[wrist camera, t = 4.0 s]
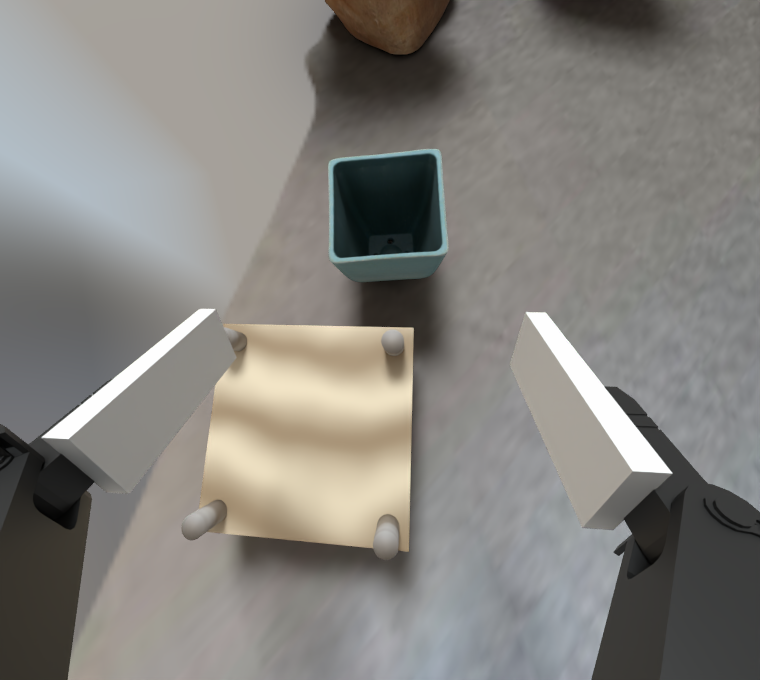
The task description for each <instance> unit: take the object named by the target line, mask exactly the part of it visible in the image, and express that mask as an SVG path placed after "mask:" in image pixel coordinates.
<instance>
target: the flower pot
mask: <svg viewBox="0 0 760 680" xmlns="http://www.w3.org/2000/svg"><path fill="white" fill-rule="evenodd" d="M328 179H329V259H330V261H331V262H332V263H333V264H334V265H335V266H336V267H337V268H338V269H339V270H340V271H341V272H342V273H343V274H344V275H345V276H346V277H348V278H349V279H351V280H353V281H356V282H372V281H387V280H403V279H420V278H426V277H428V276H430V275H432V274H433V273H434V272H435V271H436V269H437V268H438V266H439V265H440V263H441V262H442V260H443V258H444V257H445V255H446V254H447V252H448V247H449V245H448V234H447V223H446V210H445V198H444V184H443V170H442V156H441V152H440V151H439V150H438V149H422V150H414V151H406V152H397V153H389V154H380V155H367V156H354V157H344V158H337V159H334V160H331V161H329V164H328ZM389 240H392V241H393V243H392V244H389V243H388V241H389Z"/></svg>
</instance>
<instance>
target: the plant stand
mask: <svg viewBox="0 0 760 680" xmlns="http://www.w3.org/2000/svg"><path fill="white" fill-rule="evenodd" d="M223 327H224V329H225V331H226V334H227V336H228V338H229V341H230V343H231V346H232V348H233V350H234V353H235V355H236V357H237V358H236V359H235V360H234V362H233V363H232V364H231V366H230V367H229V368H228V369H227V371H226V372H225V373H224V374H223V376H222V377H221V378H220V379H219V381H218V382H217V383H216V385H215V392H214V399H213V407H212V415H211V422H210V430H209V437H208V445H207V452H206V460H205V467H204V475H203V482H202V490H201V497H200V505H199V510H197V511H195V512H193V513H192V514H190V515H188V516H187V517H186V518H185V519H184V521H183V523H182V533H183V535H184V537H185V538H186V539H188V540H195V539H197V538H199V537H200V536H202V535H203V534H204V533H206V532H214V533H224V534H234V535H244V536H254V537H264V538H275V539H285V540H295V541H305V542H315V543H325V544H335V545H346V546H356V547H366V548H373V549H374V552H375V554H376V555H377V556H378V557H379V558H380V559H383V560H390V559H392V558H394V557H395V556H396V554H397V552H398V551H406V552H409V522H410V476H411V429H412V383H413V337H414V328H403V327H354V326H304V325H255V324H223Z"/></svg>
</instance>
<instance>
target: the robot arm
mask: <svg viewBox="0 0 760 680" xmlns="http://www.w3.org/2000/svg"><path fill="white" fill-rule="evenodd" d="M236 358H237V357H236V355H235V353H234V350H233V348H232V346H231V343H230V341H229V338H228V336H227V334H226V331H225V329H224V327H223V324H222V322H221V320H220V317H219V315H218V313H217V310H216V309H199V310H198V311H197V312H196V313H194V314H193V315H192V316H191V317H189V318H188V319H187V320H186V321H184V322H183V323H182V324H181V325H179V326H178V327H177V328H176V329H174V330H173V331H172V332H171V333H169V334H168V335H167V336H166V337H165V338H163V339H162V340H161V341H160V342H158V343H157V344H156V345H155V346H154V347H152V348H151V349H150V350H148V351H147V352H146V353H145V354H144V355H143V356H141V357H140V358H139V359H138V360H136V361H135V362H134V363H132V364H131V365H130V366H129V367H128V368H126V369H125V370H124V371H123V372H121V373H120V374H119V375H118V376H116V377H115V378H113V379H111V380H109V381H107V382H106V383H105V384H104V385H102V386H101V387H100V388H99V389H97V390H96V391H95V392H94V393H93V395H90V396H89V397H87V398H86V399H85V400H84V401H82V402H81V405H78V406H76V407H75V408H74V409H72V410H71V411H70V412H69V413H67V414H66V415H65V416H64V417H63V418H61V419H60V420H59V421H58V422H56V423H55V424H54V425H52V426H51V427H50V428H49V429H48V430H46V431H45V432H44V433H43V434H41V435H40V436H39V437H38V438H36V439H35V440H34V441H32V442H31V443H30V444H27V443H25V442H24V441H23V440H22V439H20V438H19V437H18V436H16V435H15V434H14V433H13V432H11V431H10V430H9V429H8V428H6V427H5V426H3V425H1V424H0V680H67V679H68V672H69V664H70V657H71V649H72V642H73V635H74V627H75V619H76V613H77V604H78V597H79V590H80V583H81V575H82V568H83V561H84V553H85V546H86V538H87V531H88V524H89V517H90V509H91V501H92V498H91V494H90V493H89V492H87V489H88V488H89V487H90V486H91V485H92V484H93V483H94V482H95V483H96V484H97V485H98V486H99V487H101V488H102V489H103V490H104V491H106V492H109V493H122V494H130V492H131V491H132V490H133V488H134V487H135V486H136V485H137V483H138V482H139V481H140V480H141V478H142V477H143V476H144V475H145V473H146V472H147V471H148V469H149V468H150V467H151V466H152V464H153V463H154V462H155V461H156V459H157V458H158V457H159V456H160V454H161V453H162V452H163V450H164V449H165V448H166V447H167V445H168V444H169V443H170V442H171V440H172V439H173V438H174V437H175V435H176V434H177V433H178V431H179V430H180V429H181V428H182V426H183V425H184V424H185V423H186V421H187V420H188V419H189V417H190V416H191V415H192V414H193V412H194V411H195V410H196V409H197V407H198V406H199V405H200V404H201V402H202V401H203V400H204V398H205V397H206V396H207V395H208V393H209V392H210V391H211V390H212V388H213V387H214V386H215V385H216V383H217V382H218V381H219V379H220V378H221V377H222V376H223V374H224V373H225V372H226V371H227V369H228V368H229V367H230V366H231V364H232V363H233V362H234V360H235V359H236ZM510 367H511V369H512V371H513V373H514V376H515V378H516V380H517V382H518V385H519V387H520V389H521V391H522V394H523V396H524V398H525V400H526V403H527V405H528V407H529V409H530V412H531V414H532V416H533V418H534V421H535V423H536V425H537V427H538V429H539V432H540V434H541V436H542V438H543V441H544V443H545V445H546V447H547V450H548V452H549V454H550V456H551V459H552V461H553V463H554V465H555V468H556V470H557V472H558V474H559V477H560V479H561V481H562V483H563V486H564V488H565V490H566V492H567V494H568V497H569V499H570V501H571V503H572V506H573V508H574V510H575V512H576V515H577V517H578V519H579V521H580V524H581V526H582V528H592V529H605V530H614V529H615V528H616V527H617V526H618V525H619V524H620V523H621V522H622V521H623V520H625V522H626V524H627V525H628V527H629V529H630V531H631V532H632V535H631V536H629V537H628V538H627V539H626V540H625V541H624V542H622V543H621V544H620V545H619V546H618V547H617V548H616V550H615V551H614V553H615V554H617V555H618V556H619V555H621V554H622V553H623V552H624V555H623V559H622V563H621V567H620V571H619V575H618V579H617V583H616V586H615V590H614V594H613V598H612V602H611V606H610V610H609V614H608V618H607V621H606V625H605V629H604V633H603V637H602V641H601V645H600V649H599V653H598V656H597V660H596V664H595V668H594V672H593V676H592V680H760V512H759V511H758V510H757V509H755V508H754V507H753V506H752V505H751V504H749V503H748V502H747V501H745V500H744V499H742V498H740V497H738V496H737V495H735V494H733V493H732V492H730V491H728V490H725V489H723V488H720V487H718V486H715V485H712V484H708V483H707V482H706V481H705V480H704V479H703V478H702V477H701V476H700V475H699V474H698V472H697V471H696V470H695V469H694V468H693V467H692V465H691V464H690V463H689V462H688V461H687V460H686V459H685V457H684V456H683V455H682V454H681V453H680V452H679V450H678V449H677V448H676V447H675V446H674V445H673V443H672V442H671V441H670V440H669V439H668V438H667V437H666V435H665V434H664V433H663V432H662V431H661V430H658V426H657V425H656V424H655V423H654V422H653V420H652V419H651V418H650V417H647V413H646V412H645V411H644V410H643V409H642V408H641V407H640V405H639V404H638V403H637V402H636V401H635V400H634V399H633V398H632V397H630V396H629V395H627V394H626V393H624V392H623V391H622V390H620V389H619V388H617V387H604V386H603V385H602V383H601V382H600V381H599V379H598V378H597V377H596V376H595V374H594V373H593V372H592V371H591V369H590V368H589V367H588V366H587V364H586V363H585V362H584V360H583V359H582V358H581V357H580V355H579V354H578V353H577V352H576V350H575V349H574V348H573V347H572V345H571V344H570V343H569V341H568V340H567V339H566V338H565V336H564V335H563V334H562V333H561V331H560V330H559V329H558V328H557V326H556V325H555V324H554V322H553V321H552V320H551V319H550V317H549V316H548V315H547V314H546V313H539V312H526V313H525V316H524V319H523V323H522V326H521V329H520V333H519V336H518V339H517V343H516V346H515V349H514V352H513V356H512V359H511V362H510Z"/></svg>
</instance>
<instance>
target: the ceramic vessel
mask: <svg viewBox="0 0 760 680" xmlns="http://www.w3.org/2000/svg"><path fill="white" fill-rule="evenodd" d="M325 2H326V3H327V4H328V5H329V7H330V8H331V9H332V10H333V11H334V13H335V14H336V15H337V16H338V18H339V19H340V20H341V21H342V23H343V24H344V26H345V27H346V29H347V30H348V31H349V33H351V34H352V35H353V36H354V37H355V38H357V39H359V40H361V41H363V42H365V43H367V44H369V45H371V46H374V47H377V48H379V49H382V50H384V51H386V52H389V53H391V54H409V53H413V52H414V51H416V50H418V49H419V48H420V47H421V46H422V45H423V43H424V42H425V40H426V39H427V38H428V37H429V35H430V34H431V33H432V31H433V30H434V28H435V26H436V25H437V23H438V22H439V20H440V19H441V17H442V15H443V13H444V11H445V9H446V7H447V5H448V2H449V0H325Z"/></svg>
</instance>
